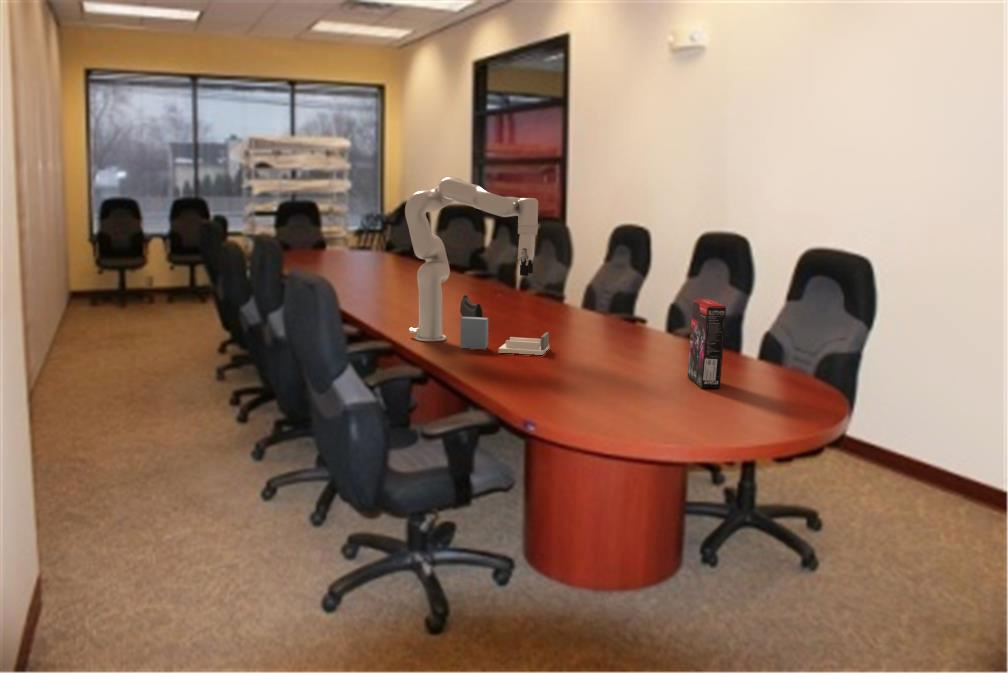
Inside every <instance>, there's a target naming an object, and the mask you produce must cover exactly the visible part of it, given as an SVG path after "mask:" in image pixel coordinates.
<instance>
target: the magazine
mask: <svg viewBox="0 0 1008 673" xmlns="http://www.w3.org/2000/svg"><path fill="white" fill-rule="evenodd" d="M462 296H463V297H462V299H461V302H460V310H459V313H460V315H461V316H462V317H480V318H484V317H483V314H484V313H483V308H482V307H481V304H480V303H477V304H475V303H473V302H472V301H471V300H470V298H469V297H468V295H466V294H465V295H462Z"/></svg>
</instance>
